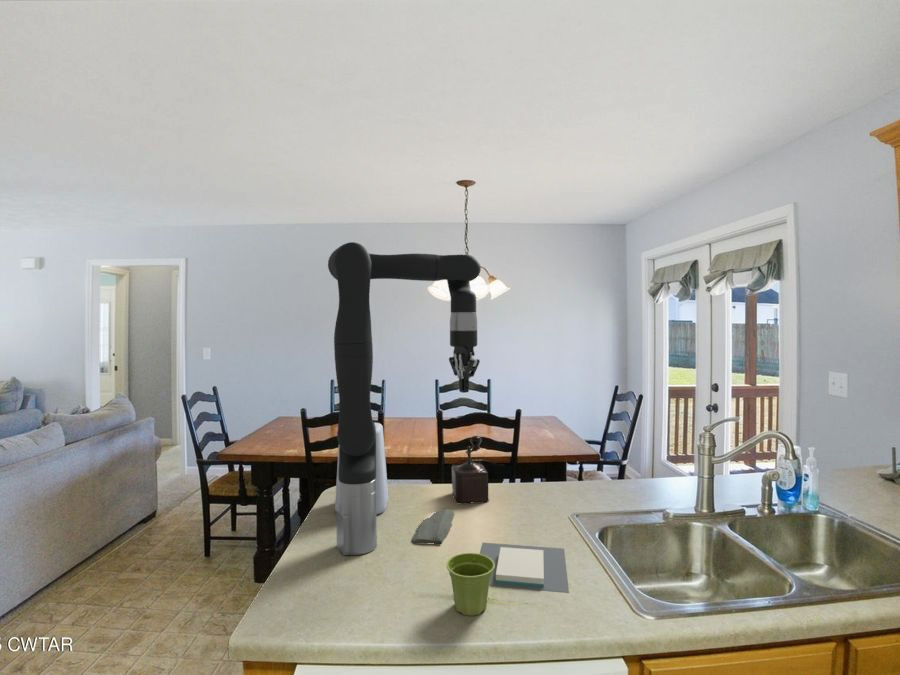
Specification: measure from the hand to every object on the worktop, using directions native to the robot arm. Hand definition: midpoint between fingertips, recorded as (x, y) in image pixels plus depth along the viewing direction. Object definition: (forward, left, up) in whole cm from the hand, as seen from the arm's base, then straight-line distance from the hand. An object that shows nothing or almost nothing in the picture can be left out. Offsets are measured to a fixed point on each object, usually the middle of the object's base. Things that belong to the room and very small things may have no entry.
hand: (463, 392), depth 135 cm
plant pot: (-20, -34, -37) cm, 54 cm away
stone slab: (-7, +3, -38) cm, 39 cm away
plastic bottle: (-20, +27, -37) cm, 50 cm away
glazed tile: (+1, -24, -35) cm, 43 cm away
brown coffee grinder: (+14, +20, -37) cm, 45 cm away
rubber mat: (-2, -27, -37) cm, 46 cm away
